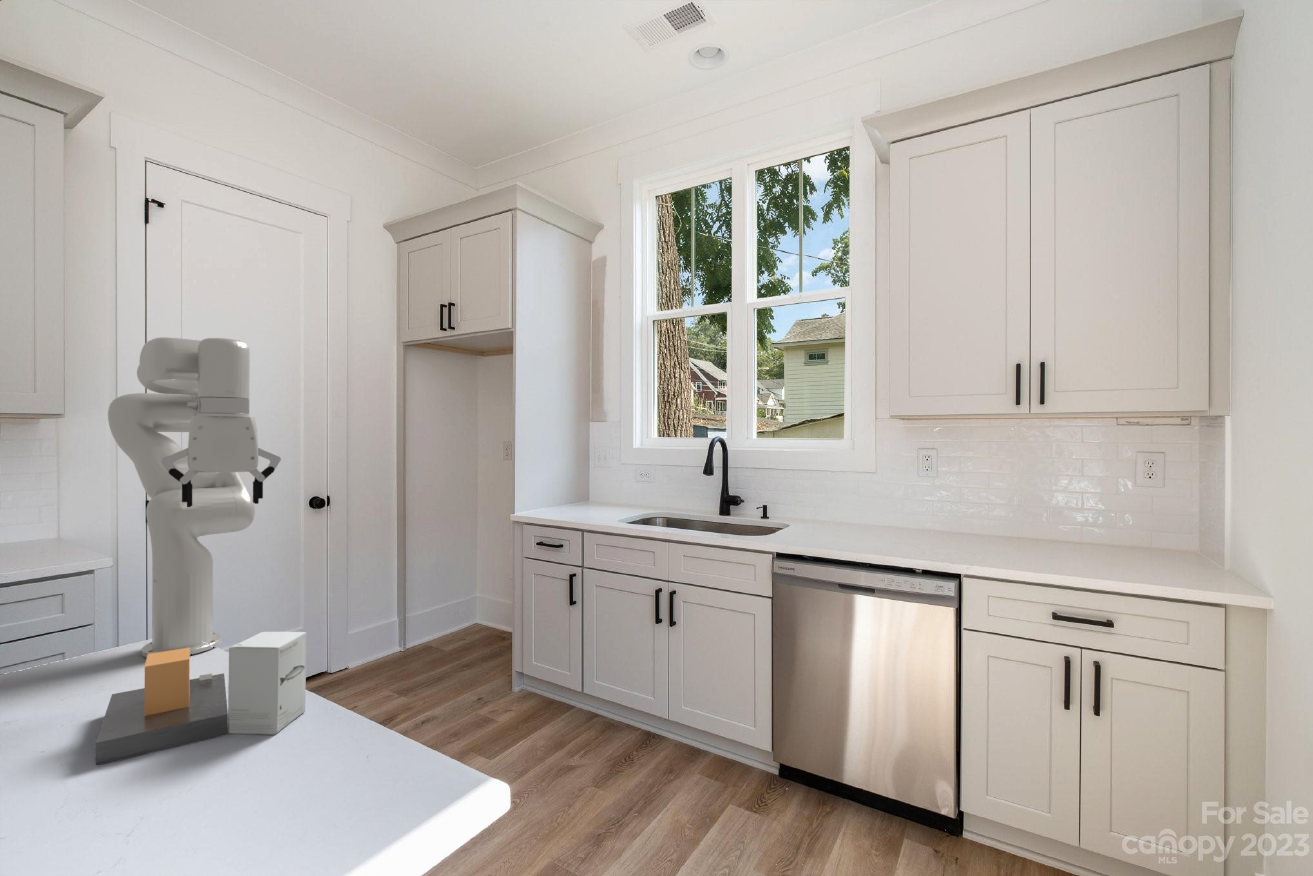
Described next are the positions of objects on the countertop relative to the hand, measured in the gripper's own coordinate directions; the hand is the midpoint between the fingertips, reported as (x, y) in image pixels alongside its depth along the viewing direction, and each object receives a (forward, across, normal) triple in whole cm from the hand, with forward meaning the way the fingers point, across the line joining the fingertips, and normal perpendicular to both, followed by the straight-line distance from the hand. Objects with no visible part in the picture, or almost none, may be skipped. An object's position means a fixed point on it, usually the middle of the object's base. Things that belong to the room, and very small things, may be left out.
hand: (223, 504), depth 108 cm
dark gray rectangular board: (+30, -7, -18) cm, 36 cm away
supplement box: (+31, +5, -26) cm, 40 cm away
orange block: (+29, -7, -18) cm, 35 cm away
